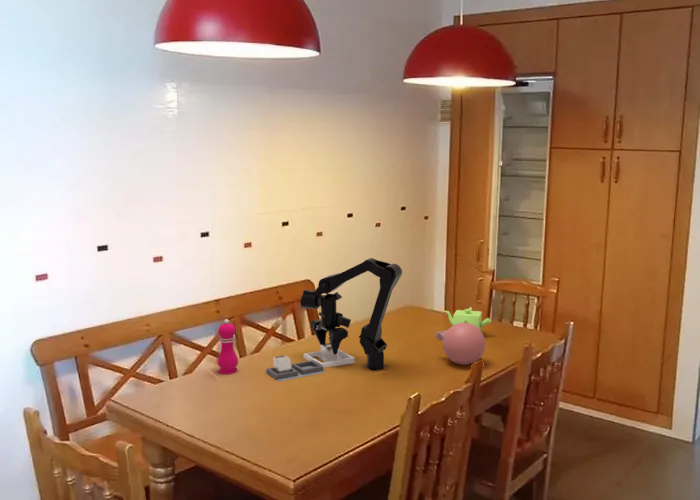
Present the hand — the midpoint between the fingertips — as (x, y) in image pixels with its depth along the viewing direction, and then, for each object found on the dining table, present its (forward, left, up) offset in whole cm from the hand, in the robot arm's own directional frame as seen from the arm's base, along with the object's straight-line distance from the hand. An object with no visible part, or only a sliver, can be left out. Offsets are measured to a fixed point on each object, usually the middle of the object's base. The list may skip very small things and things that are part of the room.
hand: (329, 351), depth 275 cm
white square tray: (0, 0, -4) cm, 4 cm away
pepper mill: (+7, +37, -4) cm, 38 cm away
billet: (-6, +22, -3) cm, 23 cm away
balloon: (-25, -41, -5) cm, 48 cm away
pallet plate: (-6, +17, -4) cm, 19 cm away
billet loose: (0, 0, -4) cm, 4 cm away
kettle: (+2, -67, -5) cm, 67 cm away
